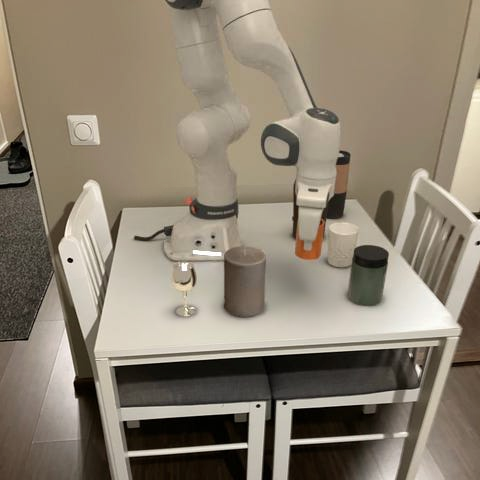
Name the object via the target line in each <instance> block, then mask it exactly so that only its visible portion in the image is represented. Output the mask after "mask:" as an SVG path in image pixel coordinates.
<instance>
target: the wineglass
mask: <svg viewBox="0 0 480 480" xmlns="http://www.w3.org/2000/svg"><path fill="white" fill-rule="evenodd" d="M170 280H171V285H172V287H173V288H174V289H175V291H177V292H180V293H182V297H183V302H184V303H183V304H184V305H182V306H179V307H177V308H176V311H175V312H176V314H177V315H179V316H181V317H190V316H192V315H194V314H195V313H196V308H195V307H193V306H191V305H188V304H187V298H188V293H189V292H191V291H193V290H194V289H195V287H196V286H197V281H198V278H197V271H196V268H195V266H194V263H193V262H191V261H176V262H175V263H173V265H172V269H171V276H170Z"/></svg>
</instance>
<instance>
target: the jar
mask: <svg viewBox="0 0 480 480" xmlns="http://www.w3.org/2000/svg"><path fill="white" fill-rule="evenodd" d="M388 265H389V261H388V262H387V264H386V265H385V266H382V267H378V268H370V267H364V266H361V265H359V264H357V263H355V262H354V260H353V258H352V264H351V265H350V272H349V280H348V288H347V298H348V300H349V301H350V302H352V303H354V304H356V305H360V306H366V307H367V306H368V307H371V306H376V305H379V304H380V303H381V302H382V301H383V295H384V289H385V284H386V278H387V271H388Z"/></svg>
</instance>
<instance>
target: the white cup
mask: <svg viewBox="0 0 480 480" xmlns="http://www.w3.org/2000/svg"><path fill="white" fill-rule="evenodd" d="M359 231H360V229H359V227H358V226H357V225H355V224H353V223H350V222H334V223H331V224H330V225H329V226H328V234H327V235H328V236H327V263H328V264H329V265H331V266H333V267H336V268H347V267H351V264H352V258H353V254H354V249H355V248H356V247H357V241H358V237H359V236H358V235H359Z"/></svg>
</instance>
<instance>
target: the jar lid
mask: <svg viewBox="0 0 480 480" xmlns="http://www.w3.org/2000/svg"><path fill="white" fill-rule="evenodd" d="M389 256H390V252H389V251H388V250H387V249H386V248H384V247H382V246H378V245H374V244H362V245H358V246H356V247H355V249H354V254H353V260H354V262H355V263H357V264H359V265H361V266H364V267H370V268H378V267H382V266H385V265H386V264H387V262H388V263H389Z"/></svg>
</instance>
